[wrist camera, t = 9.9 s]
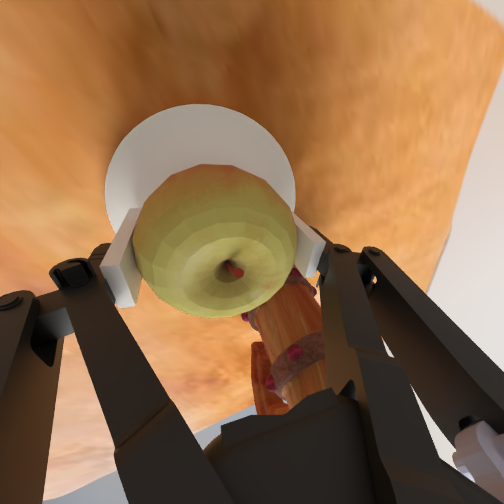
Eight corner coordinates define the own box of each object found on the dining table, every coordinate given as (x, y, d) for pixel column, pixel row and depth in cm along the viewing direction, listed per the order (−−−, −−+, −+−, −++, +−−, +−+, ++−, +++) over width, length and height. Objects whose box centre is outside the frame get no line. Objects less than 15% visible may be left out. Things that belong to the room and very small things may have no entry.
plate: (138, 284, 20) (136, 294, 19) (71, 91, 11) (60, 89, 10) (277, 265, 24) (281, 272, 23) (304, 114, 15) (313, 114, 14)
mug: (256, 246, 21) (351, 413, 9) (312, 258, 25) (431, 390, 13) (215, 332, 28) (241, 495, 16) (264, 331, 31) (315, 464, 20)
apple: (261, 136, 14) (329, 157, 7) (277, 246, 20) (322, 310, 13) (115, 176, 12) (50, 241, 6) (180, 280, 18) (179, 366, 12)
